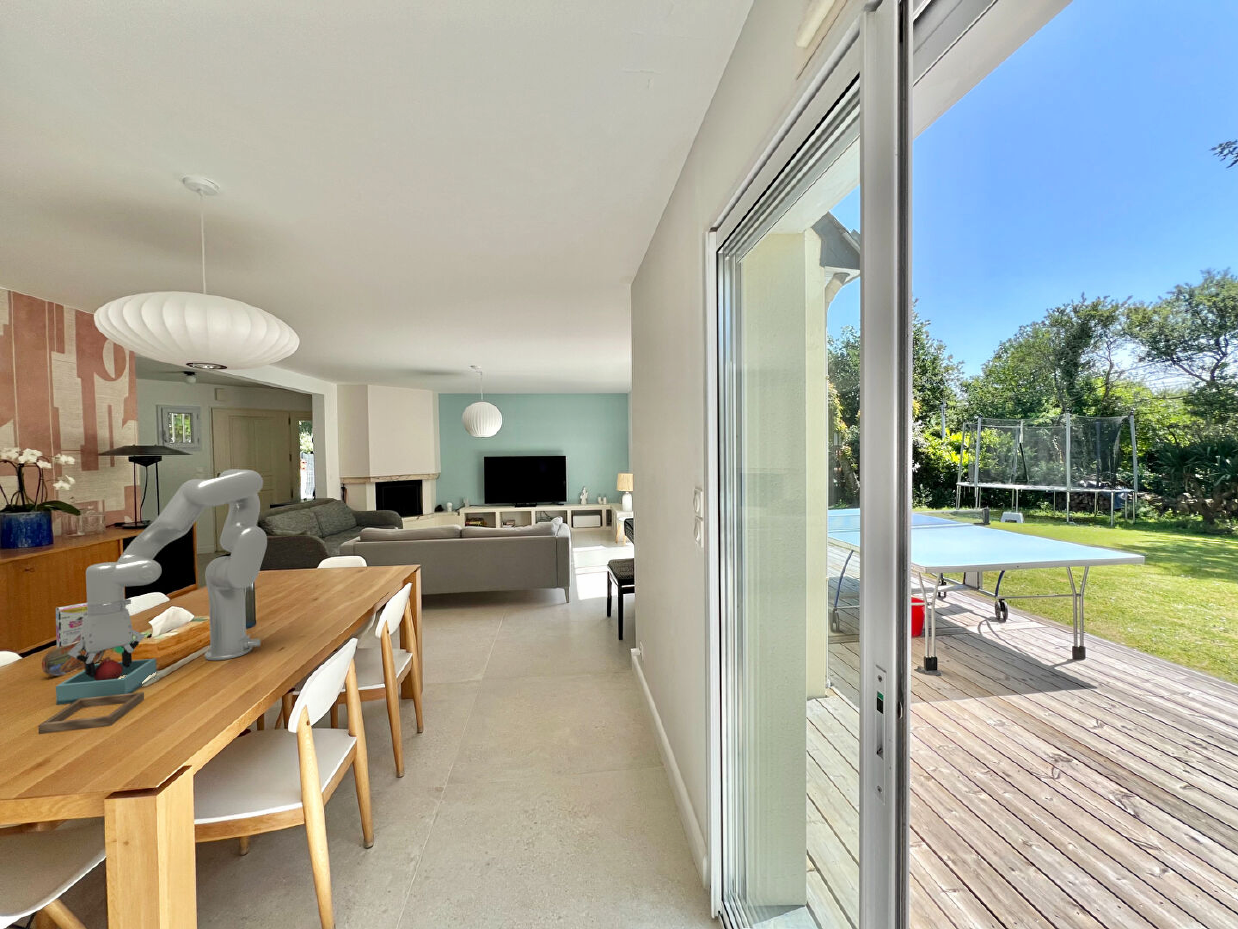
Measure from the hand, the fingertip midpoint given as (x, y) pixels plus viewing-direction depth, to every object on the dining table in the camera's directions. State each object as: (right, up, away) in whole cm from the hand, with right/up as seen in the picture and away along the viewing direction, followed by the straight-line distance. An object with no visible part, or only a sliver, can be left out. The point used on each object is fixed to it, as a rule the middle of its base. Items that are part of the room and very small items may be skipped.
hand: (109, 670), depth 152 cm
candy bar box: (-33, -5, +26) cm, 42 cm away
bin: (0, -5, 0) cm, 5 cm away
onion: (0, -4, 0) cm, 4 cm away
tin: (-23, -5, +14) cm, 27 cm away
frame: (+10, -6, -15) cm, 19 cm away
